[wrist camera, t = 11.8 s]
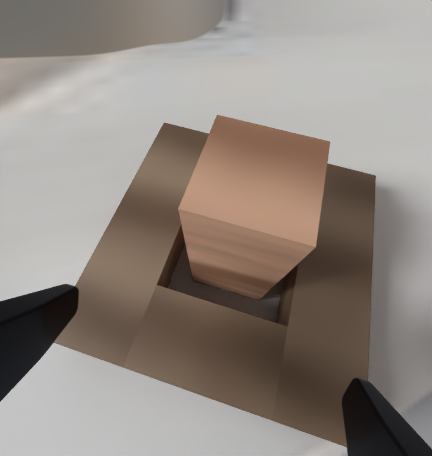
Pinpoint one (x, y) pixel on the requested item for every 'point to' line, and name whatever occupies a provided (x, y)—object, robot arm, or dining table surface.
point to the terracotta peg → (252, 205)
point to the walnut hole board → (226, 317)
